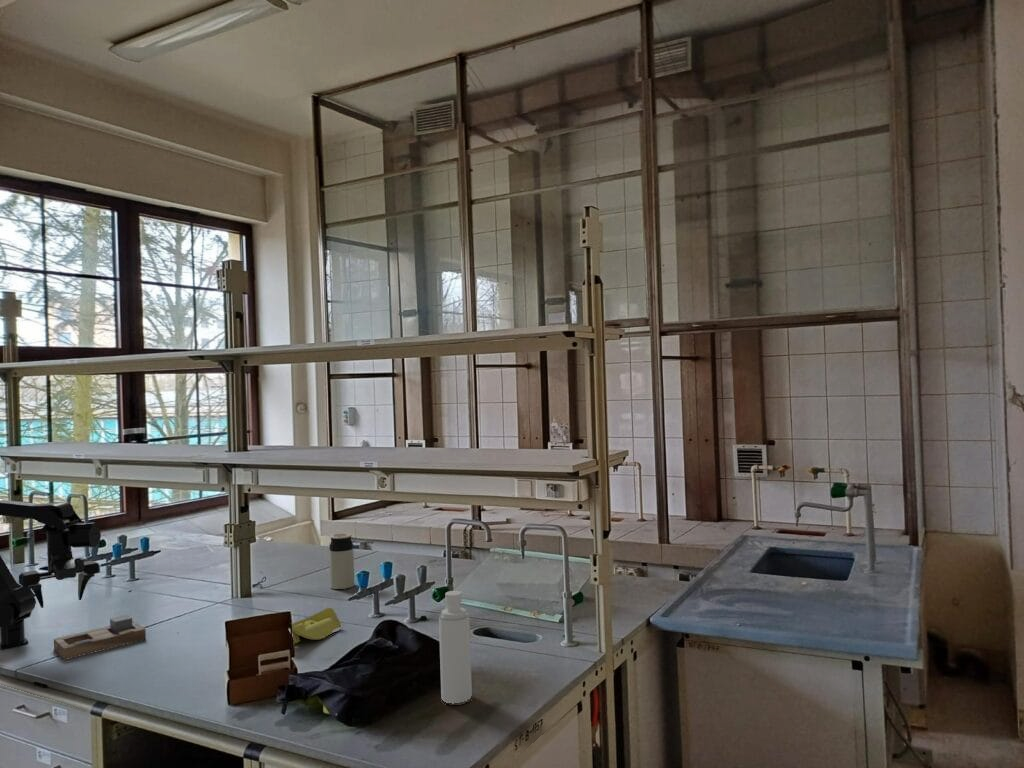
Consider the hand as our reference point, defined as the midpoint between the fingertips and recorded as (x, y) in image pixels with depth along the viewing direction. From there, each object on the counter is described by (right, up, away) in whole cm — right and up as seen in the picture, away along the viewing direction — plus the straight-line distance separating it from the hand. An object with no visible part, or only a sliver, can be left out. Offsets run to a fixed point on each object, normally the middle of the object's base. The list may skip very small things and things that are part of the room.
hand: (61, 603), depth 205 cm
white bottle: (+114, -8, -44) cm, 123 cm away
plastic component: (+69, -9, -2) cm, 69 cm away
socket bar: (+12, -11, -2) cm, 16 cm away
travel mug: (+68, -9, +48) cm, 84 cm away
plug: (+16, -11, +1) cm, 19 cm away
